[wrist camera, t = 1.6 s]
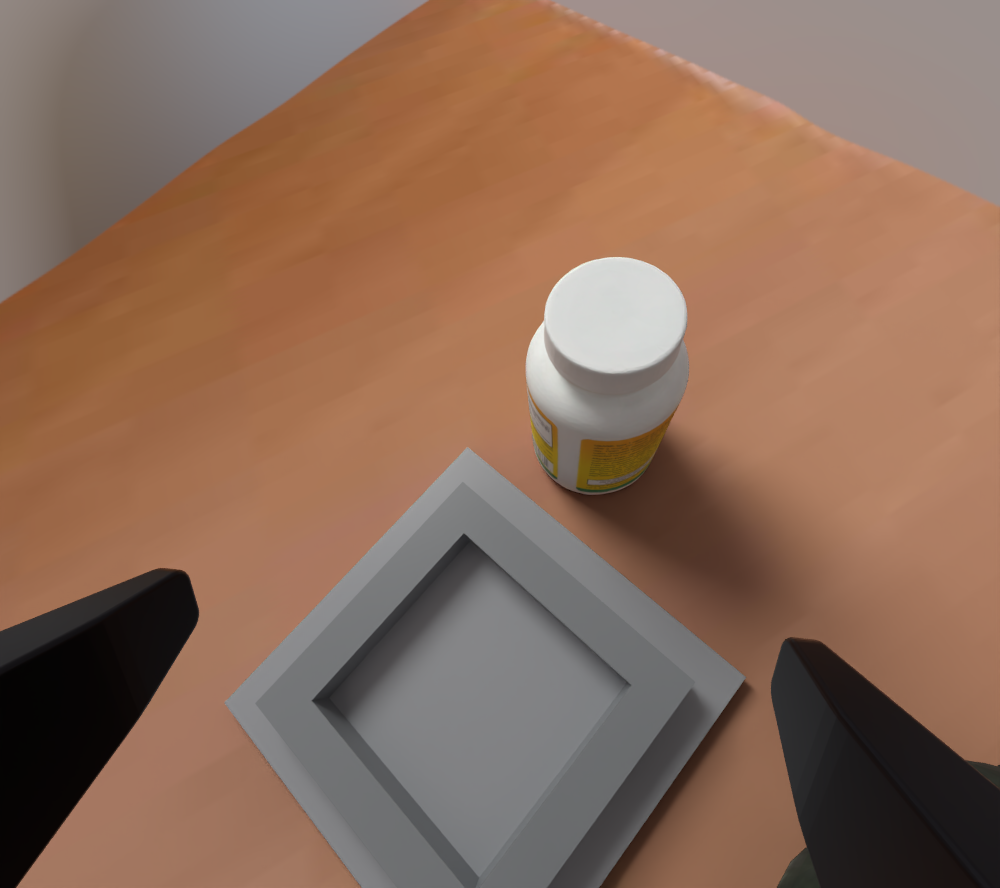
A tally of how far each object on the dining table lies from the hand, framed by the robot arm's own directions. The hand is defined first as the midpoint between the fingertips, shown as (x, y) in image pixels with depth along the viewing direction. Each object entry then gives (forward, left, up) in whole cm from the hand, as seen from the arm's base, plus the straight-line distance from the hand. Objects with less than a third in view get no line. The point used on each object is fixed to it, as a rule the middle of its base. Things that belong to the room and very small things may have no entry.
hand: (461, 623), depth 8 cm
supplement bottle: (+9, +3, -14) cm, 17 cm away
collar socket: (-2, 0, -14) cm, 14 cm away
